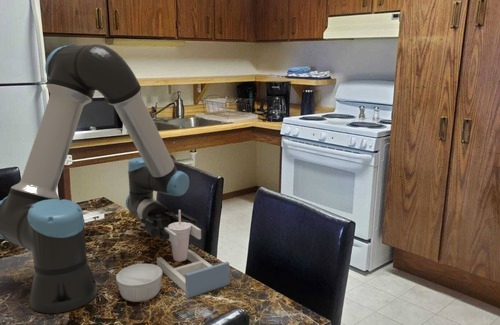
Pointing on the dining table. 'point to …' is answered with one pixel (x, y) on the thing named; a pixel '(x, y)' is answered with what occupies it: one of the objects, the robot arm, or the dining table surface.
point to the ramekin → (139, 282)
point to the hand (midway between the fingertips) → (188, 237)
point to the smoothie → (180, 239)
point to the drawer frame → (196, 274)
